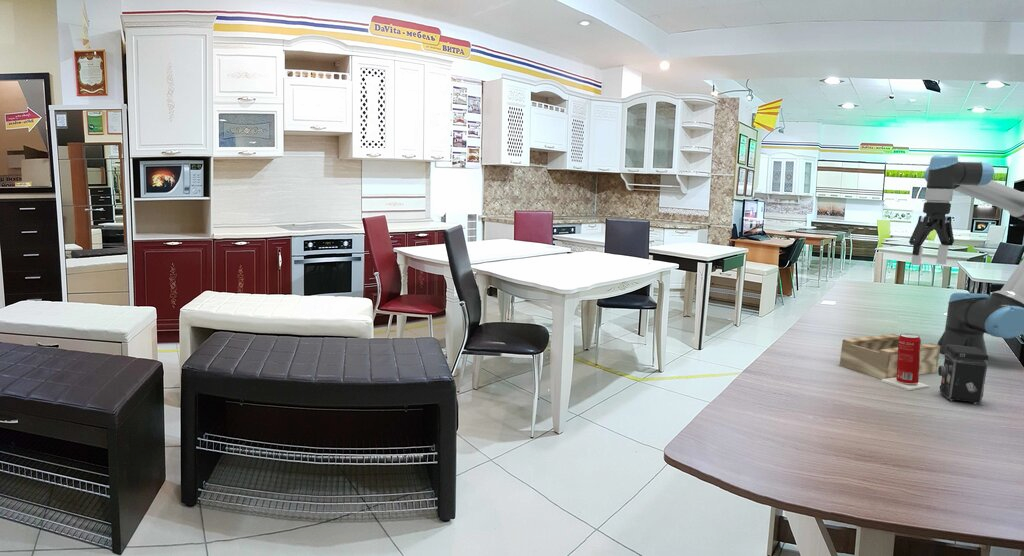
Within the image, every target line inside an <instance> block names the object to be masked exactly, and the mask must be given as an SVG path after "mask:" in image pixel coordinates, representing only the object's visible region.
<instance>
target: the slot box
mask: <svg viewBox="0 0 1024 556" xmlns="http://www.w3.org/2000/svg"><path fill="white" fill-rule="evenodd" d="M899 337H900V335H898V334H895V333H891V334H884V335H883V334H882V335H873V336H865V337H863V336H862V337H855V338H854V337H853V338H845V339H844V338H843V339H842V344H841V349H840V350H841V352H840V357H839V358H840V361H839V366H840V367H844V368H847V369H850V370H854V371H856V372H859V373H862V374H865V375H868V376H872V377H875V378H877V379H880V380H881V379H887V378H894V377H896V376H897V358H898V339H899ZM940 353H941V352H940V346H939V345H937V344H934V343H925V344H923V343H921V346H920V363H919V376H920V375H925V374H932V373H933V374H934V373H938V367H939V365H938V364H939V359H940Z"/></svg>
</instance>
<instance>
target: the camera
mask: <svg viewBox="0 0 1024 556" xmlns="http://www.w3.org/2000/svg"><path fill="white" fill-rule="evenodd" d="M943 357H944V360H943V365H938V367H937V373H938V374H937V375H938V376H940V377H941V380H940V385H939V392H940V393H941V394H942V395H943V396H944V397H946V399H947V400H949V401H951V402H952V401H954V400H955V401H961V402H962V401H963V402H970V403H973V404H974V405H976V404H977V403H979V404H980V403H982V400H983V397H984V390H985V389H984V388H985V385H986V379H987V378H986V376H987V371H988V366H989V365H988V363H987V362H986V361H987V360H989V355H988V354H986V353H984V352H983V351H982V350H980V349H979V348H975V347H967V346H957V345H946V347H945V354H944V356H943Z"/></svg>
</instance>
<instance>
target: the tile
mask: <svg viewBox="0 0 1024 556" xmlns="http://www.w3.org/2000/svg"><path fill="white" fill-rule="evenodd" d="M880 382H882V383H885V384H888V385H892V386H894V387H898V388H902V389H903V390H907V391H914V390H921V389H927V388H929V387H930V385H929V384H926V383H923V382H922V383H921V382H919V381H918V383H917V384H913V385H910V384H903V383H899V382H898V381H897V380H896V377H894V378H887V379H880Z"/></svg>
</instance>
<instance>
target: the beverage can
mask: <svg viewBox="0 0 1024 556" xmlns="http://www.w3.org/2000/svg"><path fill="white" fill-rule="evenodd" d="M899 336H900V337H899V339H898V358H897V376H896V380H897V381H898V382H899V383H903V384H910V385H913V384H917V383H918V382H919V378H920V377H919V376H920V375H919V363H920V346H921V344H922V341H921V338H920V335H919V334H915V333H914V334H913V333H901V334H900V335H899Z"/></svg>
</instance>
